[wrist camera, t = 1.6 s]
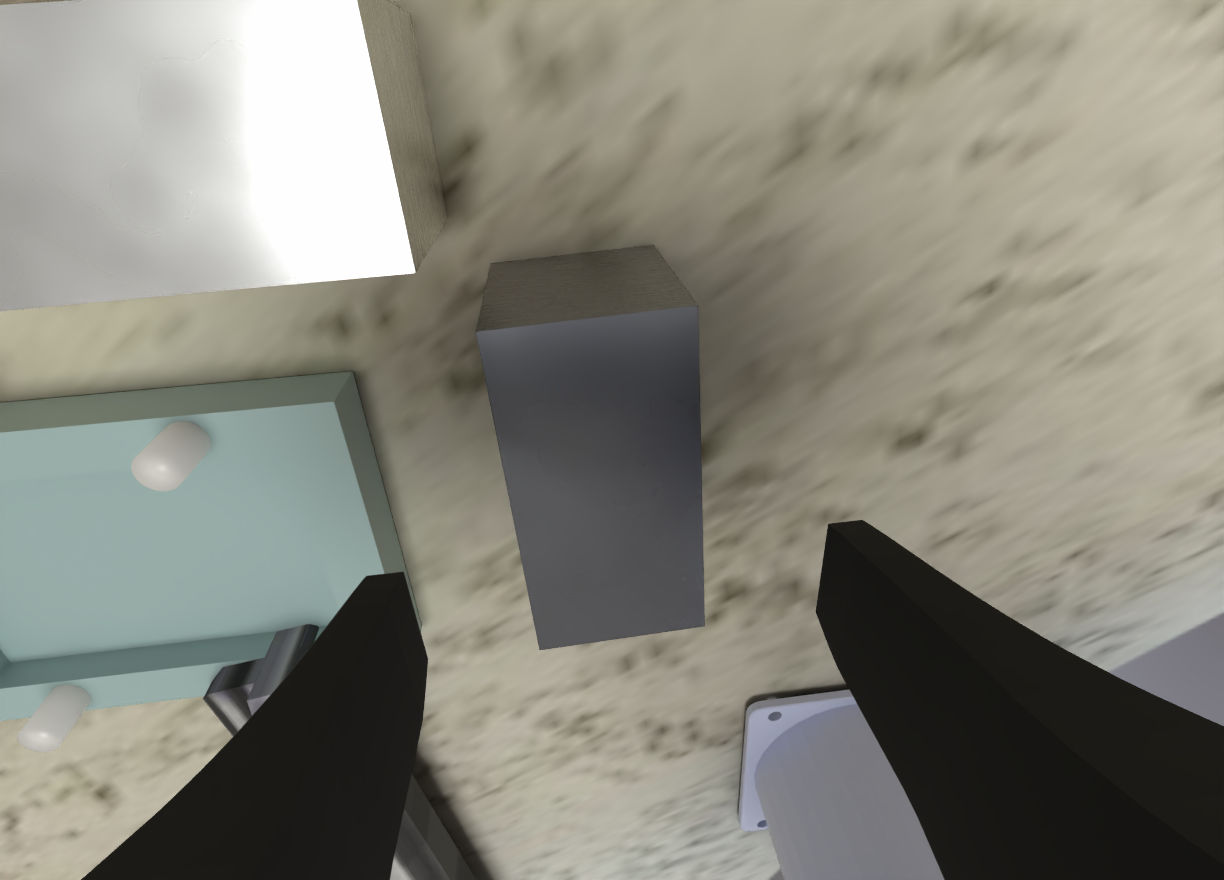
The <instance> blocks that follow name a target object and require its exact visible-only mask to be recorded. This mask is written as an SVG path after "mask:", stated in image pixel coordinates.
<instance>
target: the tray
mask: <svg viewBox="0 0 1224 880" xmlns="http://www.w3.org/2000/svg"><path fill="white" fill-rule="evenodd" d="M396 572H404V574H405V578H406V581H407V585H408V589H409V592H410V596H411V600H412V603H413V607H414V610H415V614H416V618H417V621H418V625H419V629H420V632H421V628H422V625H421V622H420V618H419V614H418V611H417V607H416V603H415V600H414V596H413V592H412V589H411V585H410V581H409V578H408V574H407V570H406V567H405V563H404V559H403V555H402V552H401V548H400V544H399V541H398V537H397V533H396V530H395V526H394V522H393V519H392V515H391V511H390V508H389V504H388V500H387V496H386V493H385V489H384V485H383V482H382V478H381V474H380V471H379V467H378V463H377V460H376V456H375V452H374V449H373V445H372V441H371V438H370V434H369V430H368V426H367V423H366V419H365V415H364V412H363V408H362V404H361V401H360V397H359V393H358V390H357V386H356V382H355V379H354V375H353V371H349V372H338V373H327V374H316V375H305V376H293V377H282V378H271V379H260V380H249V381H238V382H227V383H215V384H204V385H193V386H182V387H171V388H160V389H149V390H138V391H126V392H115V393H104V394H93V395H82V396H71V397H60V398H48V399H37V400H26V401H15V402H4V403H0V721H4V720H12V719H20V718H29V717H31V718H30V719H29V720H28V721H27V723H26V724H25V725H24V727H23V728H22V729H21V730H20V732H19V733H18V735H17V740H18V742H19V743H20V744H21V745H22V746H23V747H25V748H27V749H29V750H32V751H36V752H51V751H54V750H56V749H57V748H58V747H59V746H60V745H61V743H62V742H63V741H64V739H65V738H66V736H67V735H68V733H69V732H70V731H71V729H72V728H73V726H74V725H75V724H76V722H77V721H78V719H79V718H80V716H81V715H82V714H83V712H84V711H86V710H94V709H102V708H111V707H119V706H127V705H135V704H143V703H152V702H160V701H168V700H176V699H184V698H193V697H201V696H205V694H206V692H207V690H208V688H209V686H210V684H211V682H212V681H213V679H214V678H215V677H216V675H217V674H218V673H219V671H220V670H221V669H222V667H226V666H230V665H234V664H239V663H243V662H247V661H251V660H256V659H260V658H264V657H265V655H266V653H267V651H268V649H269V647H270V644H271V642H272V641H273V639H274V637H275V635H276V632H277V631H281V630H285V629H289V628H293V627H298V626H302V625H306V624H312V625H316V626H318V627H319V630H318V633H317V636H316V639H317V638H318V637H319V635H320V634H321V633H322V631H323V630H324V629H325V628H326V626H327V625H328V624H329V622H330V621H331V620H332V619H333V617H334V616H335V615H336V613H337V612H338V611H339V609H340V608H341V607H342V606H343V604H344V603H345V602H346V600H347V599H348V598H349V596H350V595H351V594H352V593H353V591H354V590H355V589H356V587H357V586H358V585H359V584H360V582H361V581H362V580H363V579H364V578H365V577H366V576H369V575H378V574H387V573H396ZM316 639H315V640H316Z"/></svg>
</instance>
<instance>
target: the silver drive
mask: <svg viewBox="0 0 1224 880" xmlns="http://www.w3.org/2000/svg"><path fill="white" fill-rule="evenodd" d="M446 220H447V213H446V208H445V203H444V197H443V192H442V186H441V181H440V175H439V170H438V164H437V159H436V153H435V148H434V142H433V137H432V131H431V126H430V120H429V115H428V109H427V104H426V98H425V93H424V87H423V82H422V76H421V71H420V65H419V60H418V54H417V49H416V43H415V38H414V32H413V27H412V21H411V16H410V13H408V12H406V11H405V10H403V9H401V8H399V7H397V6H395V5H393V4H392V3H390V2H388V1H386V0H72V1H56V2H40V3H24V4H8V5H0V311H7V310H18V309H29V308H40V307H51V306H62V305H73V304H84V303H94V302H105V301H116V300H127V299H138V298H149V297H160V296H171V295H182V294H193V293H204V292H215V291H225V290H236V289H247V288H258V287H269V286H280V285H291V284H302V283H313V282H324V281H335V280H346V279H356V278H367V277H378V276H389V275H400V274H411V273H416V271H417V270H418V268H419V266H420V264H421V263H422V261H423V259H424V258H425V256H426V254H427V252H428V251H429V249H430V247H431V246H432V244H433V242H434V240H435V239H436V237H437V235H438V233H439V232H440V230H441V228H442V227H443V225H444V223H445V221H446Z"/></svg>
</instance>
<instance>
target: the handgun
mask: <svg viewBox="0 0 1224 880" xmlns="http://www.w3.org/2000/svg"><path fill="white" fill-rule="evenodd" d="M318 630H319V627H318V626H316V625H312V624H306V625H302V626H298V627H293V628H289V629H285V630H281V631H277V632H276V635H275V637H274V639H273V641H272V642H271V644H270V647H269V649H268V651H267V653H266V655H265V657H264V658H260V659H256V660H251V661H247V662H243V663H239V664H234V665H230V666H226V667H222V669H221V670H220V671H219V673H218V674H217V675H216V677H215V678H214V679H213V681H212V682H211V684H210V686H209V688H208V690H207V692H206V694H205V696H204V698H203V700H204V701H205V702H206V703H207V705H208V706H209V707H210V708H211V710H212V711H213V712H214V713H215V715H216V716H217V717H218V718H219V719H220V721H221V722H222V723H223V724H224V726H225V727H226V728H227V729H228V731H229V732H230V733H231V734H232V736H233V737H234V735H235V734H236V733H237V732H238V731H239V730H240V729H241V728H242V726H243V725H244V724H245V723H246V722H247V721H248V720H249V719H250V717H251V716H252V715H253V714H254V713H255V712H256V711H257V710H258V708H259V707H260V706H261V705H262V704H263V703H264V702H265V701H266V699H267V698H268V697H269V696H270V695H271V694H272V693H273V692H274V690H275V689H276V688H277V687H278V686H279V685H280V683H281V682H282V681H283V680H284V679H285V677H286V676H287V675H288V674H289V672H290V671H291V670H292V669H293V667H294V666H295V665H296V664H297V663H298V661H299V660H300V659H301V658H302V656H303V655H304V654H305V653H306V652H307V650H308V649H309V648H310V647H311V645H312V644H313V643H314V642H315V639H316V636H317V633H318ZM390 880H476V878H475V877H474V875H473V873H472V872H471V870H470V868H469V867H468V865H467V864H466V862H465V860H464V859H463V857H462V855H461V854H460V852H459V850H458V849H457V847H456V845H455V844H454V842H453V841H452V839H451V837H450V836H449V834H448V832H447V831H446V829H445V827H444V826H443V824H442V822H441V821H440V819H439V818H438V816H437V814H436V813H435V811H434V809H433V808H432V806H431V804H430V803H429V801H428V799H427V798H426V796H425V795H424V793H423V791H422V790H421V788H420V786H419V785H418V783H417V781H416V780H415V778H414V776H413V775H412V774H411V779H410V784H409V788H408V793H407V798H406V803H405V807H404V812H403V817H402V822H401V826H400V831H399V836H398V840H397V845H396V850H395V855H394V859H393V865H392V871H391V877H390Z"/></svg>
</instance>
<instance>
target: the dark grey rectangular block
mask: <svg viewBox="0 0 1224 880" xmlns="http://www.w3.org/2000/svg"><path fill="white" fill-rule="evenodd" d="M476 335H477V340H478V345H479V350H480V355H481V360H482V365H483V370H484V375H485V380H486V385H487V390H488V395H489V400H490V405H491V410H492V415H493V420H494V425H495V430H496V435H497V440H498V445H499V450H500V455H501V460H502V465H503V470H504V475H505V480H506V485H507V490H508V495H509V500H510V505H511V510H512V515H513V520H514V525H515V530H516V535H517V540H518V545H519V550H520V555H521V560H522V565H523V570H524V575H525V580H526V585H527V590H528V595H529V600H530V605H531V610H532V615H533V620H534V625H535V630H536V635H537V640H538V645H539V649H540V650H545V649H551V648H558V647H565V646H572V645H579V644H586V643H593V642H600V641H606V640H613V639H620V638H627V637H634V636H641V635H648V634H654V633H661V632H668V631H675V630H682V629H689V628H696V627H703V626H705V615H704V567H703V519H702V471H701V423H700V375H699V327H698V305H697V303H696V302H695V301H694V299H693V298H692V296H691V295H690V294H689V292H688V291H687V290H686V288H685V287H684V286H683V284H682V283H681V282H680V280H679V279H678V277H677V276H676V275H675V273H674V272H673V271H672V269H671V268H670V267H669V265H668V264H667V262H666V261H665V260H664V258H663V257H662V256H661V254H660V253H659V252H658V250H657V249H656V247H655V246H654V245H649V246H640V247H631V248H622V249H614V250H605V251H596V252H587V253H579V254H570V255H561V256H552V257H544V258H535V259H526V260H517V261H508V262H500V263H491V265H490V269H489V274H488V278H487V283H486V288H485V292H484V297H483V301H482V306H481V310H480V315H479V320H478V324H477V329H476Z"/></svg>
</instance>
